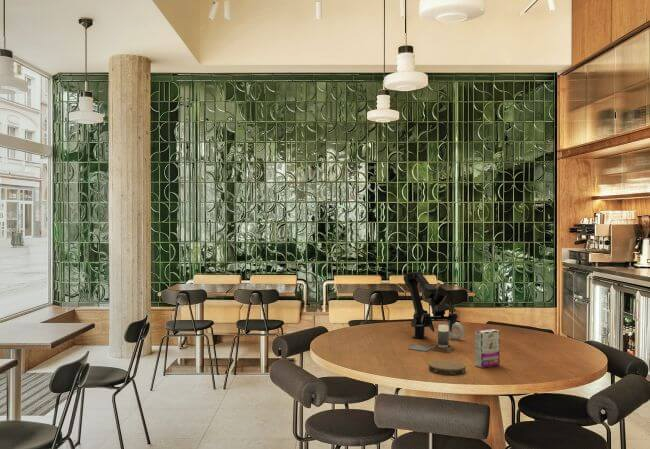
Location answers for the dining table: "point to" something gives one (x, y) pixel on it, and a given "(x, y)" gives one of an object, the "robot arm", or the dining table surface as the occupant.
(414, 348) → the charcoal mat
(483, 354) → the candy bar box
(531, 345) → the dining table surface
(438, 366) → the brown round disc
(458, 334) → the donut
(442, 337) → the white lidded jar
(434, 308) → the robot arm
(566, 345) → the dining table surface
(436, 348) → the walnut collar
